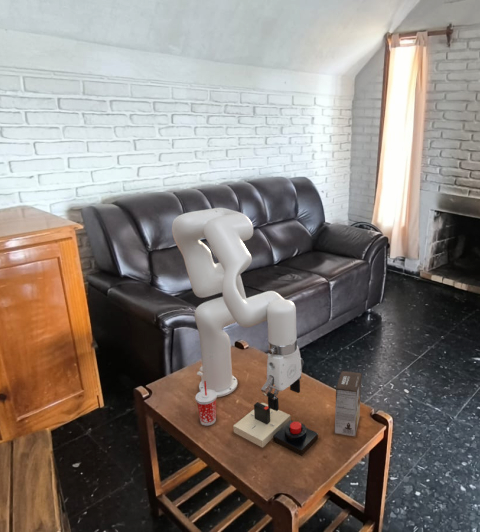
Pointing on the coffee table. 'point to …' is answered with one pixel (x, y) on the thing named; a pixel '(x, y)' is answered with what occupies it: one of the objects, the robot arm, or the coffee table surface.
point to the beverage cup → (206, 406)
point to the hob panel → (261, 427)
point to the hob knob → (262, 413)
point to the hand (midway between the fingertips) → (284, 399)
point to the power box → (295, 439)
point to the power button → (295, 427)
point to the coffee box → (348, 403)
